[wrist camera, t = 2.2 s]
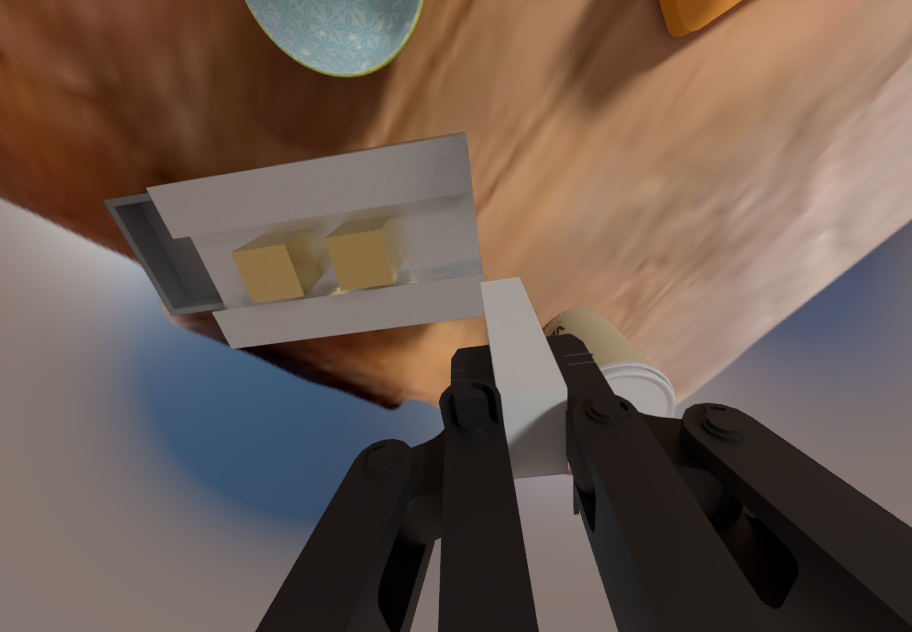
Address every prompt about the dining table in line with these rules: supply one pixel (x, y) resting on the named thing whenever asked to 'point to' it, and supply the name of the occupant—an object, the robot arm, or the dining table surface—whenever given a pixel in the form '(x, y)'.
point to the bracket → (692, 14)
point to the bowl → (339, 31)
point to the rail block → (320, 212)
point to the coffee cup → (618, 361)
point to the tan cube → (364, 253)
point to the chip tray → (165, 256)
